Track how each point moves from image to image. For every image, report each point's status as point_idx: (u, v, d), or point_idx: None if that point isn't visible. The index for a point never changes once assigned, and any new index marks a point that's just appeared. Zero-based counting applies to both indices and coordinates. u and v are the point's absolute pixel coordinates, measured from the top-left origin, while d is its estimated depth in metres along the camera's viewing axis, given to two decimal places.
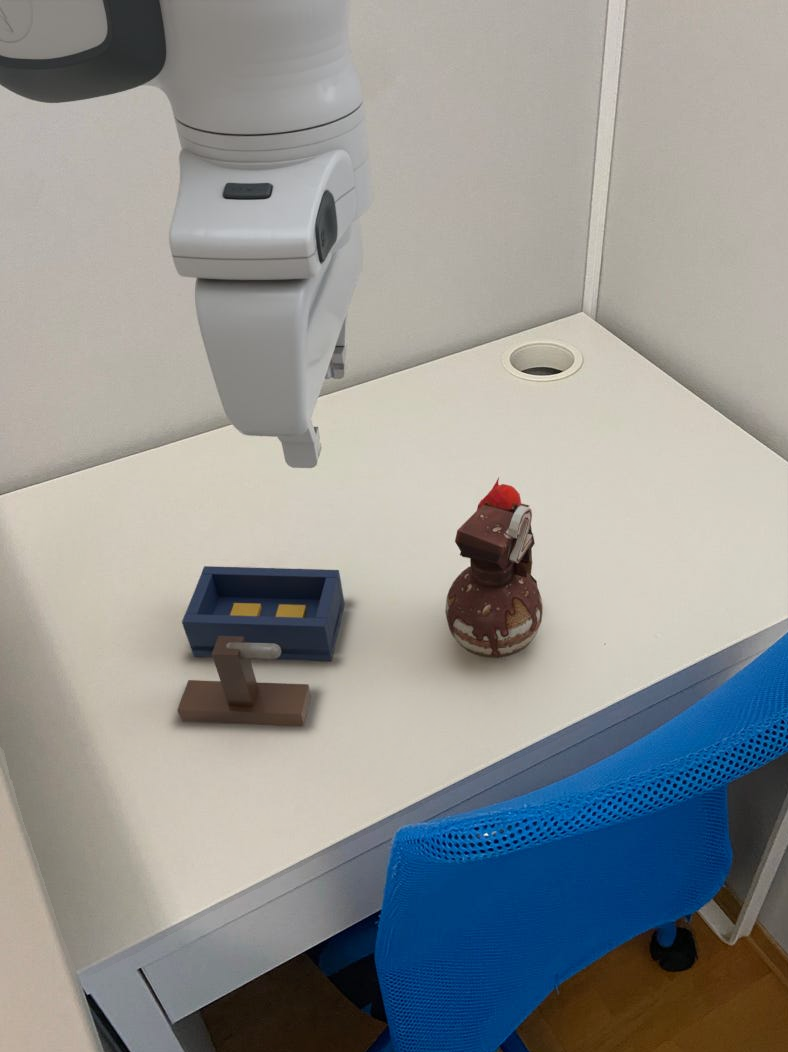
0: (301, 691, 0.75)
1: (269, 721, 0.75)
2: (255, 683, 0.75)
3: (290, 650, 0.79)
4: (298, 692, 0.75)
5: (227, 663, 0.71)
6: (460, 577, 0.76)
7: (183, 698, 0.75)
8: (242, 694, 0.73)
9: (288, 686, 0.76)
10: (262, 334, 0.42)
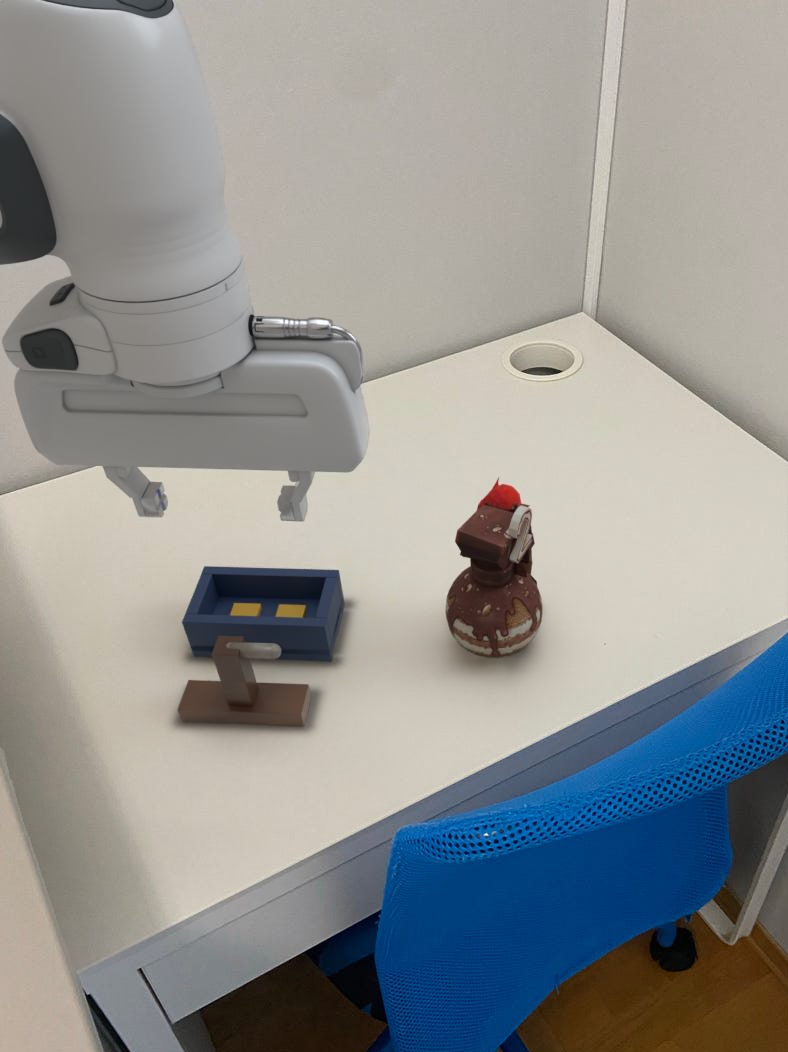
0: (301, 691, 0.75)
1: (269, 721, 0.75)
2: (255, 683, 0.75)
3: (290, 650, 0.79)
4: (298, 692, 0.75)
5: (228, 663, 0.71)
6: (460, 577, 0.76)
7: (183, 698, 0.75)
8: (242, 694, 0.73)
9: (288, 686, 0.76)
10: None
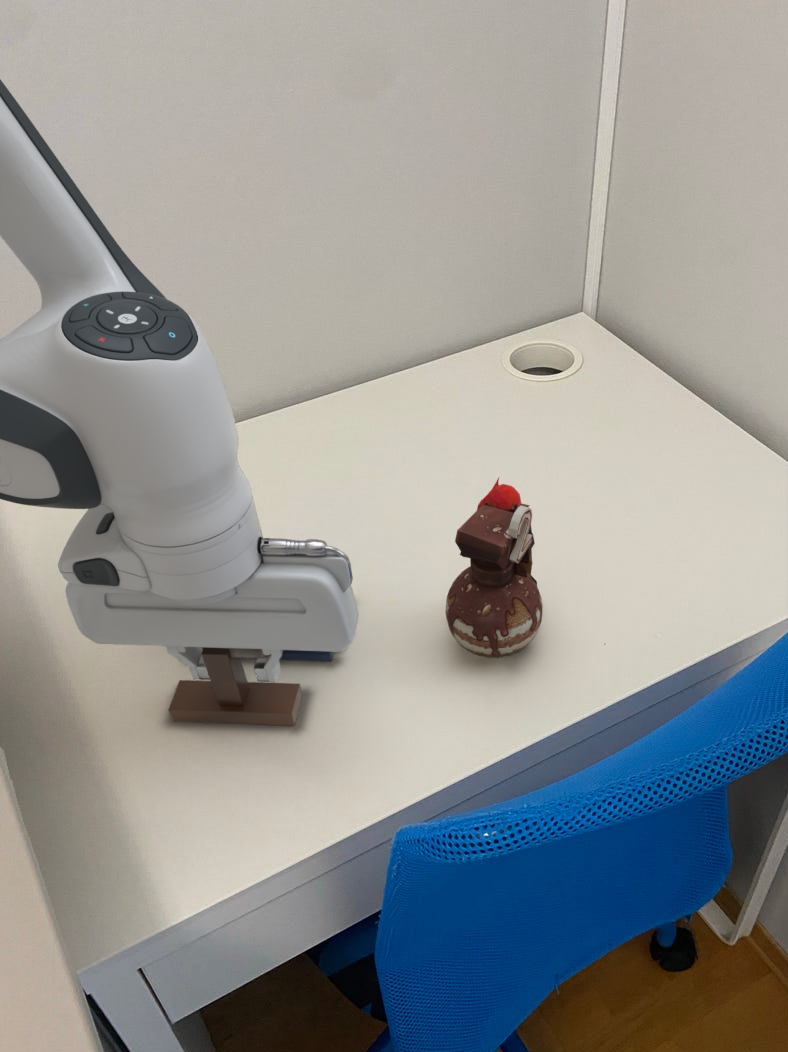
0: (292, 690, 0.75)
1: (260, 720, 0.75)
2: (246, 683, 0.75)
3: (290, 650, 0.79)
4: (289, 691, 0.75)
5: (217, 663, 0.71)
6: (460, 577, 0.76)
7: (174, 698, 0.75)
8: (232, 694, 0.73)
9: (279, 685, 0.76)
10: None
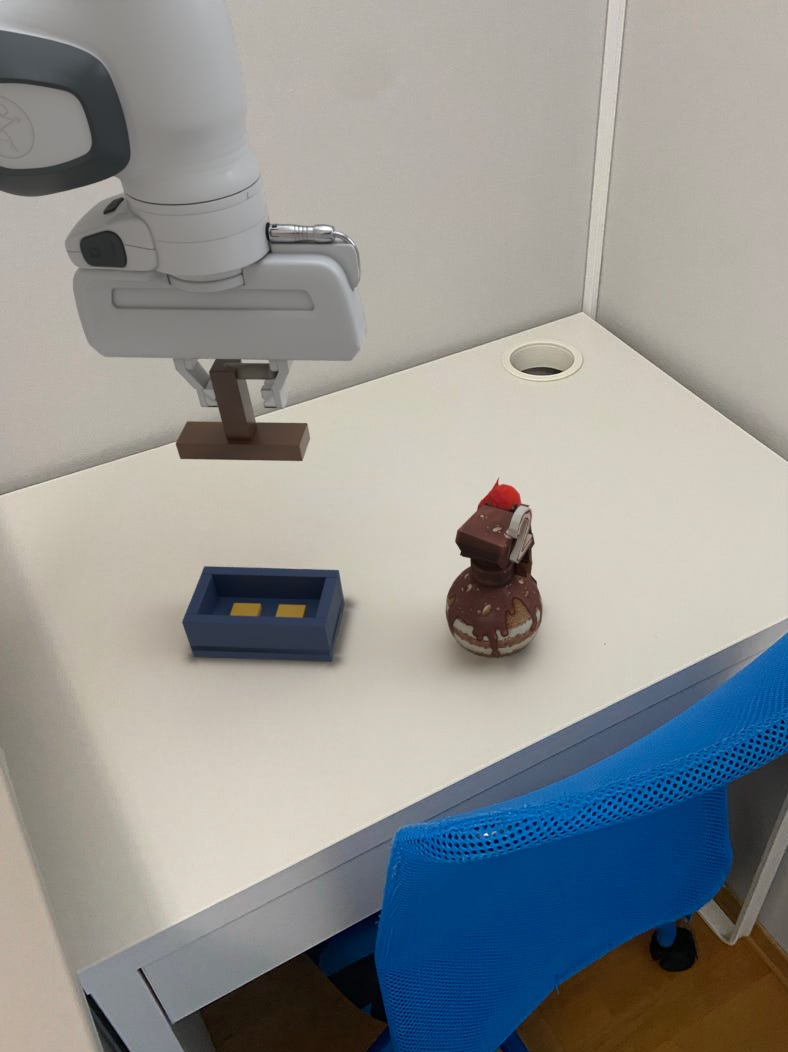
0: (300, 428, 0.75)
1: (268, 455, 0.74)
2: (253, 418, 0.74)
3: (290, 650, 0.79)
4: (296, 428, 0.75)
5: (225, 384, 0.70)
6: (460, 577, 0.76)
7: (181, 434, 0.75)
8: (239, 424, 0.73)
9: (287, 424, 0.75)
10: None
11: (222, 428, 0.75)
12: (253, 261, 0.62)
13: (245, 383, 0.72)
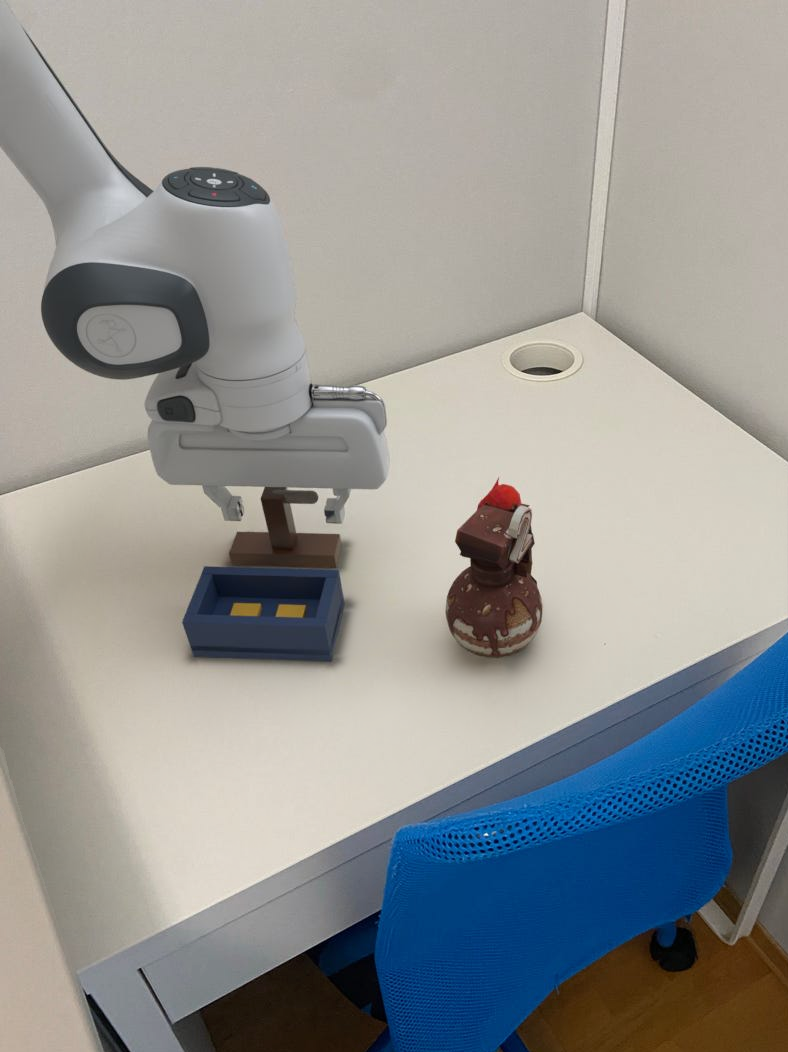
0: (333, 539, 0.89)
1: (307, 562, 0.88)
2: (295, 531, 0.88)
3: (290, 650, 0.79)
4: (331, 539, 0.89)
5: (273, 507, 0.84)
6: (460, 577, 0.76)
7: (233, 544, 0.88)
8: (284, 538, 0.87)
9: (322, 535, 0.89)
10: None
11: (267, 538, 0.89)
12: (299, 417, 0.76)
13: (289, 504, 0.86)
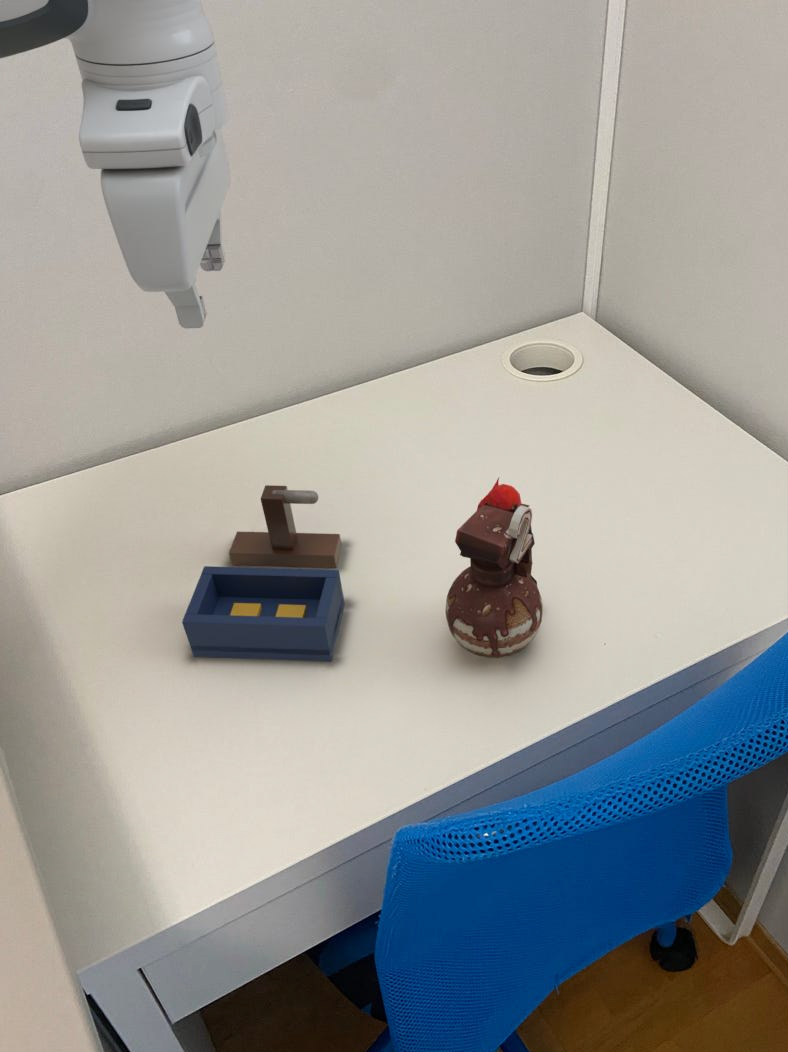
0: (333, 539, 0.89)
1: (307, 562, 0.88)
2: (295, 531, 0.88)
3: (290, 650, 0.79)
4: (331, 539, 0.89)
5: (273, 507, 0.84)
6: (460, 577, 0.76)
7: (233, 544, 0.88)
8: (284, 538, 0.87)
9: (322, 535, 0.89)
10: (152, 208, 0.59)
11: (267, 538, 0.89)
12: None
13: (289, 504, 0.86)
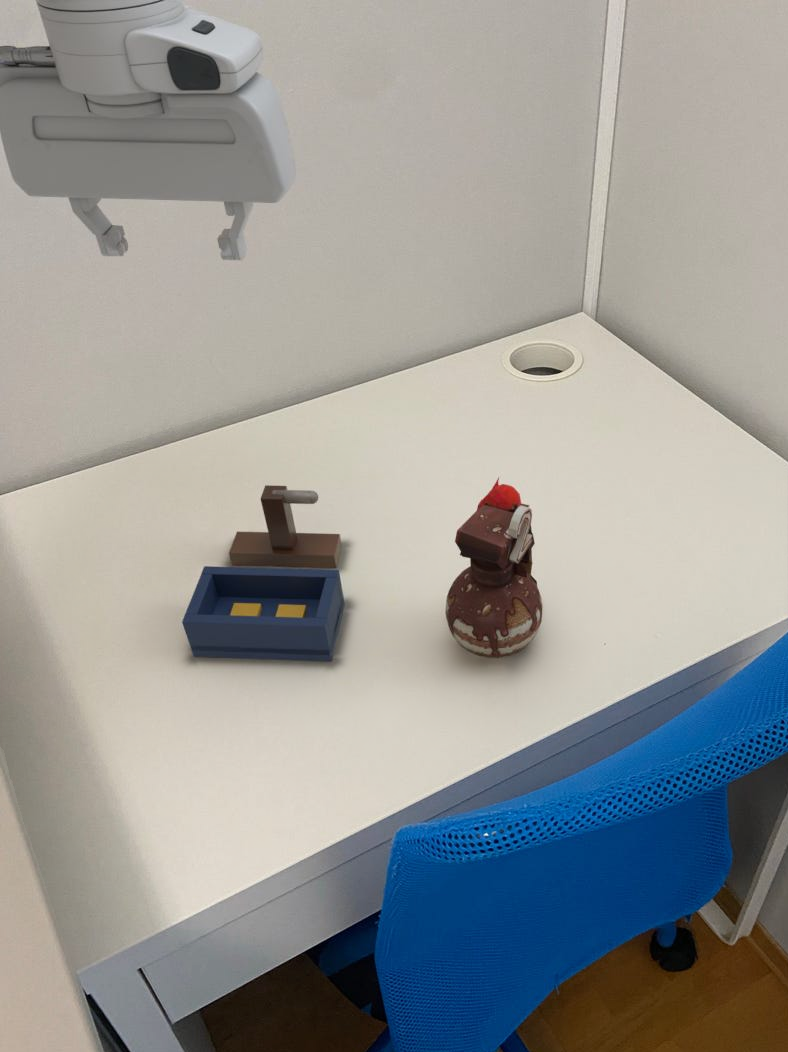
0: (333, 539, 0.89)
1: (307, 562, 0.88)
2: (294, 531, 0.88)
3: (290, 650, 0.79)
4: (331, 539, 0.89)
5: (273, 507, 0.84)
6: (460, 577, 0.76)
7: (233, 544, 0.88)
8: (284, 538, 0.87)
9: (322, 535, 0.89)
10: (275, 108, 0.64)
11: (267, 538, 0.89)
12: None
13: (289, 504, 0.86)
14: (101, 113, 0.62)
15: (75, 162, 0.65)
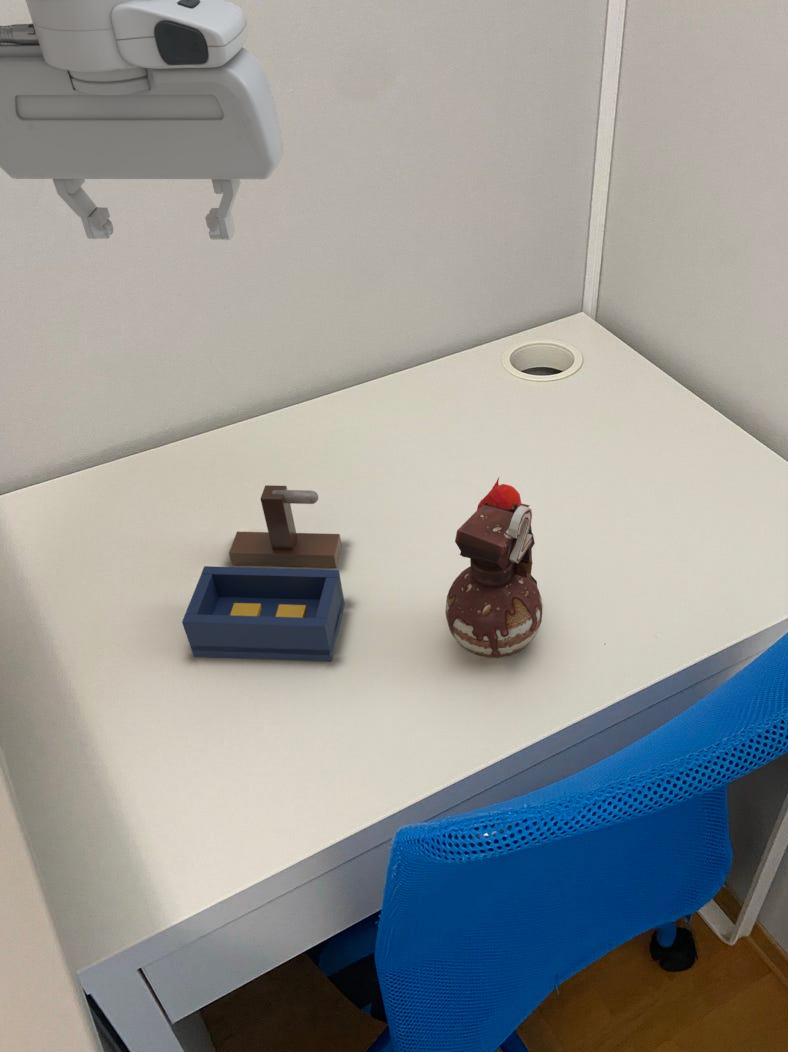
0: (333, 539, 0.89)
1: (307, 562, 0.88)
2: (295, 531, 0.88)
3: (290, 650, 0.79)
4: (331, 539, 0.89)
5: (273, 507, 0.84)
6: (460, 577, 0.76)
7: (233, 544, 0.88)
8: (284, 538, 0.87)
9: (322, 535, 0.89)
10: (262, 83, 0.64)
11: (267, 538, 0.89)
12: None
13: (289, 504, 0.86)
14: (87, 90, 0.61)
15: (60, 142, 0.65)
